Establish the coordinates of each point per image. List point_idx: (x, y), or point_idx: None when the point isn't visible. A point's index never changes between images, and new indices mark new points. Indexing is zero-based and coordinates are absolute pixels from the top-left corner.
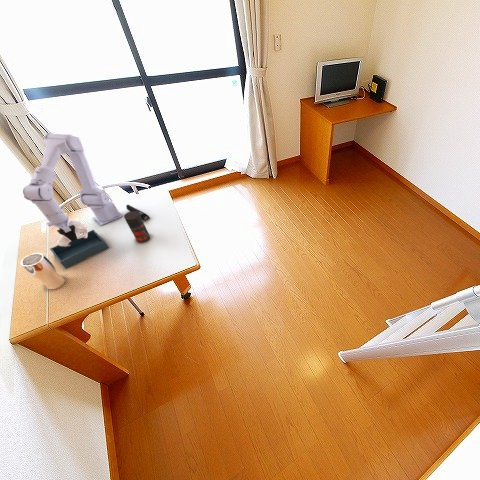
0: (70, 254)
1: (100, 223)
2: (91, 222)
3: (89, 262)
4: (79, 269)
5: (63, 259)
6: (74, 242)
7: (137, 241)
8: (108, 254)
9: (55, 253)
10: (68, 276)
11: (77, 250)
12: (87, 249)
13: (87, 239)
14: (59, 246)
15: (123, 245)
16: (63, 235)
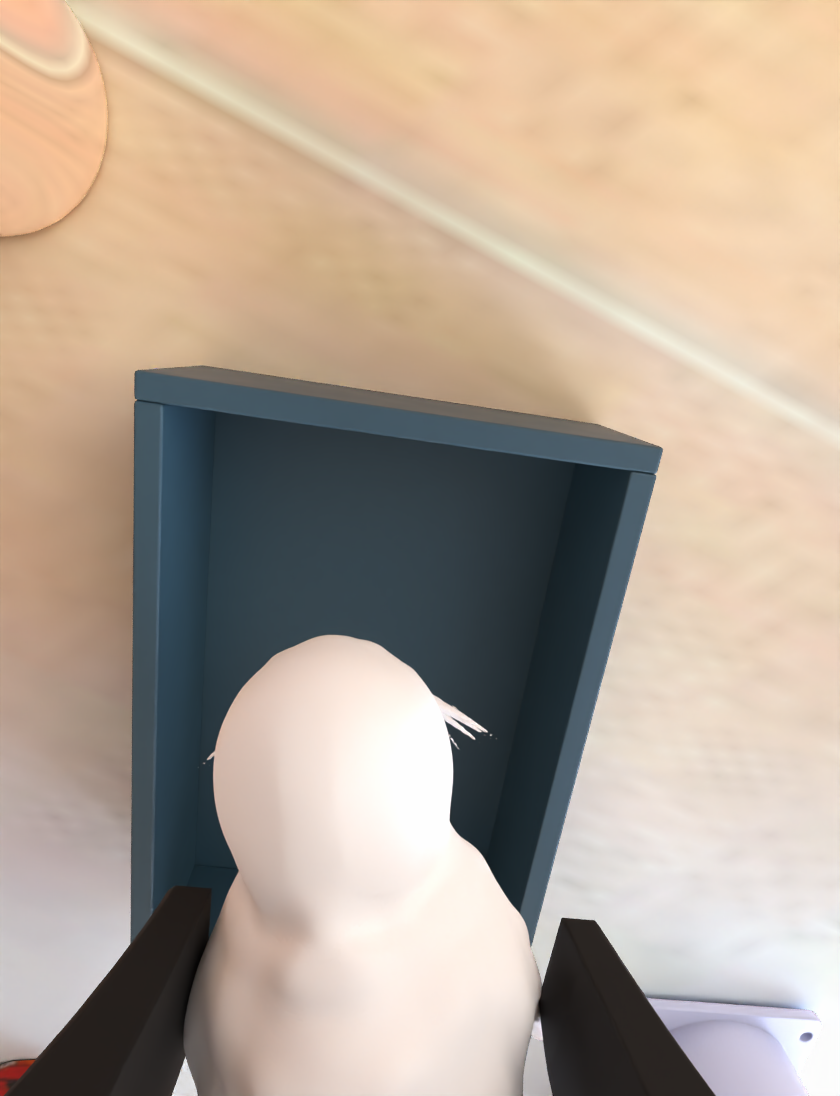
0: (428, 555)
1: (665, 1010)
2: (787, 957)
3: (91, 614)
4: (47, 471)
5: (407, 447)
6: (541, 726)
7: (18, 1077)
8: (67, 809)
9: (452, 444)
10: (8, 302)
11: (429, 646)
12: (134, 784)
13: (501, 822)
14: (595, 572)
15: (97, 963)
16: (308, 998)
